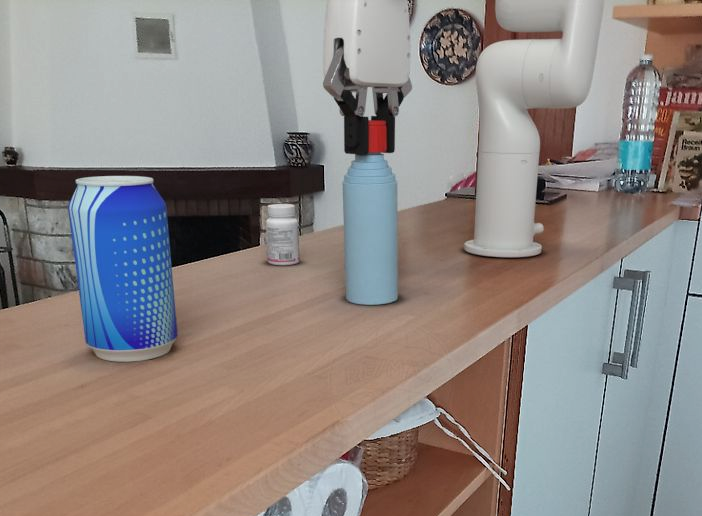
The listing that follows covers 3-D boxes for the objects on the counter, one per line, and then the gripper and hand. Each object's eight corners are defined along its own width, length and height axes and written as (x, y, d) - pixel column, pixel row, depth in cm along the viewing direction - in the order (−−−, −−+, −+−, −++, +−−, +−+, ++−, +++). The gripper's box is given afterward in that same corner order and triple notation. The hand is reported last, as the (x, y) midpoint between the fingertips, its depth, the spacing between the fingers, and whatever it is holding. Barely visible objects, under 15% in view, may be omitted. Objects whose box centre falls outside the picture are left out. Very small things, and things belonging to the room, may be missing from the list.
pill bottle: (278, 258, 120) (276, 202, 117) (305, 261, 118) (304, 204, 115) (261, 263, 116) (258, 206, 113) (288, 267, 114) (286, 208, 111)
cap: (345, 152, 89) (345, 121, 87) (361, 149, 92) (361, 120, 91) (377, 153, 87) (376, 122, 86) (392, 150, 91) (392, 120, 89)
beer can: (128, 370, 70) (107, 185, 64) (68, 354, 74) (43, 179, 68) (197, 347, 76) (183, 178, 71) (138, 334, 80) (121, 173, 75)
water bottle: (369, 289, 100) (366, 124, 93) (408, 296, 97) (408, 126, 89) (335, 299, 96) (329, 127, 88) (374, 307, 92) (371, 128, 84)
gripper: (392, -15, 91) (390, 149, 98) (288, -35, 79) (294, 154, 86) (444, -21, 87) (439, 152, 93) (342, -42, 75) (344, 158, 81)
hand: (369, 151), depth 89 cm, fingers closed on cap, 3 cm apart
